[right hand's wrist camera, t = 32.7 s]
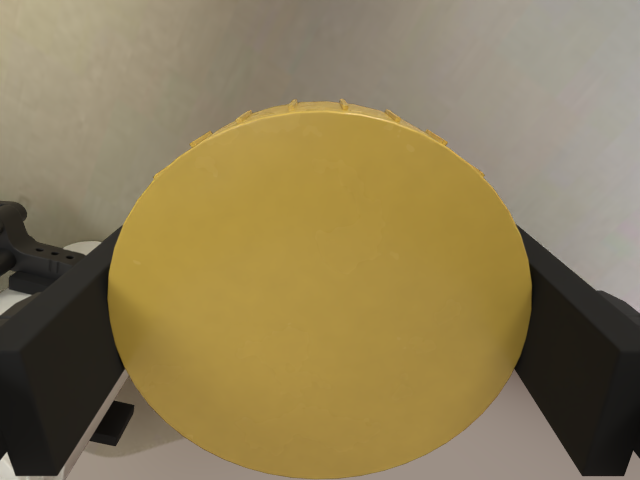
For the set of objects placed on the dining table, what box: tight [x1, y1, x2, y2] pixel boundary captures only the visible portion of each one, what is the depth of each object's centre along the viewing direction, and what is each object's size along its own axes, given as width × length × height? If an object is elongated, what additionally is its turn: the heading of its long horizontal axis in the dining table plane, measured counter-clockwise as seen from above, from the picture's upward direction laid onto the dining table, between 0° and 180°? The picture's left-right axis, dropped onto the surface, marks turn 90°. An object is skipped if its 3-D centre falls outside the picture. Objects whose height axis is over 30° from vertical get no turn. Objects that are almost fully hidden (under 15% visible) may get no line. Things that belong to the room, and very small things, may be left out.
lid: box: [107, 99, 532, 479], centre depth 11 cm, size 10×10×2 cm
